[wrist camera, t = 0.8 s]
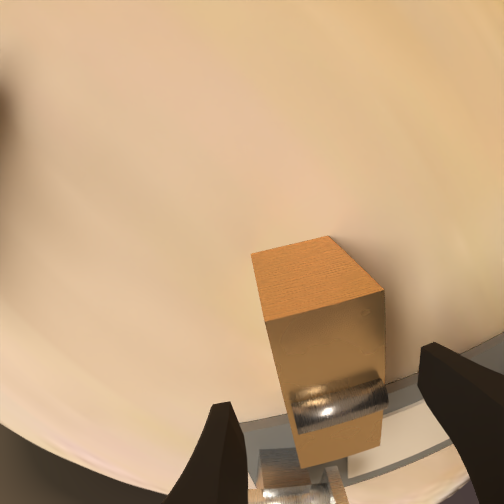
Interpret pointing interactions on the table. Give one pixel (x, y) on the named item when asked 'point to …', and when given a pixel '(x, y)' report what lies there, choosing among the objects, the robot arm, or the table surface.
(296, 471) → the shaft
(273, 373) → the table surface
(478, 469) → the robot arm
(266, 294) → the block
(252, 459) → the coupling base
